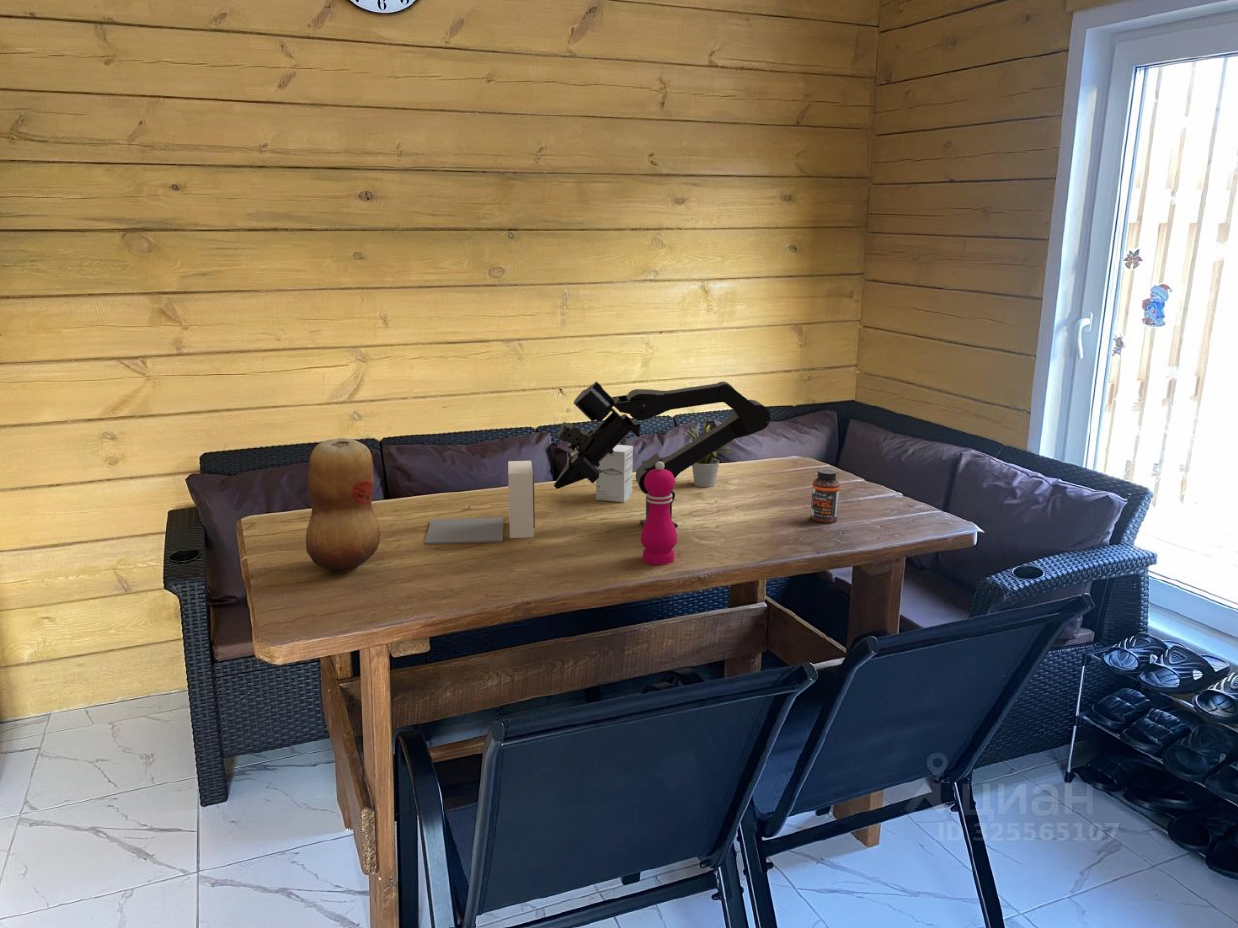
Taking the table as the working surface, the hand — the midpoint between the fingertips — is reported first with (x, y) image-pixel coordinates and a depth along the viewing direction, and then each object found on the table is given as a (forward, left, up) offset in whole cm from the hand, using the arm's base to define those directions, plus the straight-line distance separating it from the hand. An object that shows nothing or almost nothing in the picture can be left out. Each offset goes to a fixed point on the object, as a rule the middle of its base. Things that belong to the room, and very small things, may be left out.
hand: (555, 487), depth 206 cm
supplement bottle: (-18, -57, -10) cm, 61 cm away
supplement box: (+17, -21, -10) cm, 29 cm away
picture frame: (+2, +7, -9) cm, 12 cm away
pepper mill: (-27, -11, -10) cm, 31 cm away
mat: (+6, +18, -9) cm, 22 cm away
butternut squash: (-7, +46, -9) cm, 47 cm away
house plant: (+18, -46, -9) cm, 51 cm away
